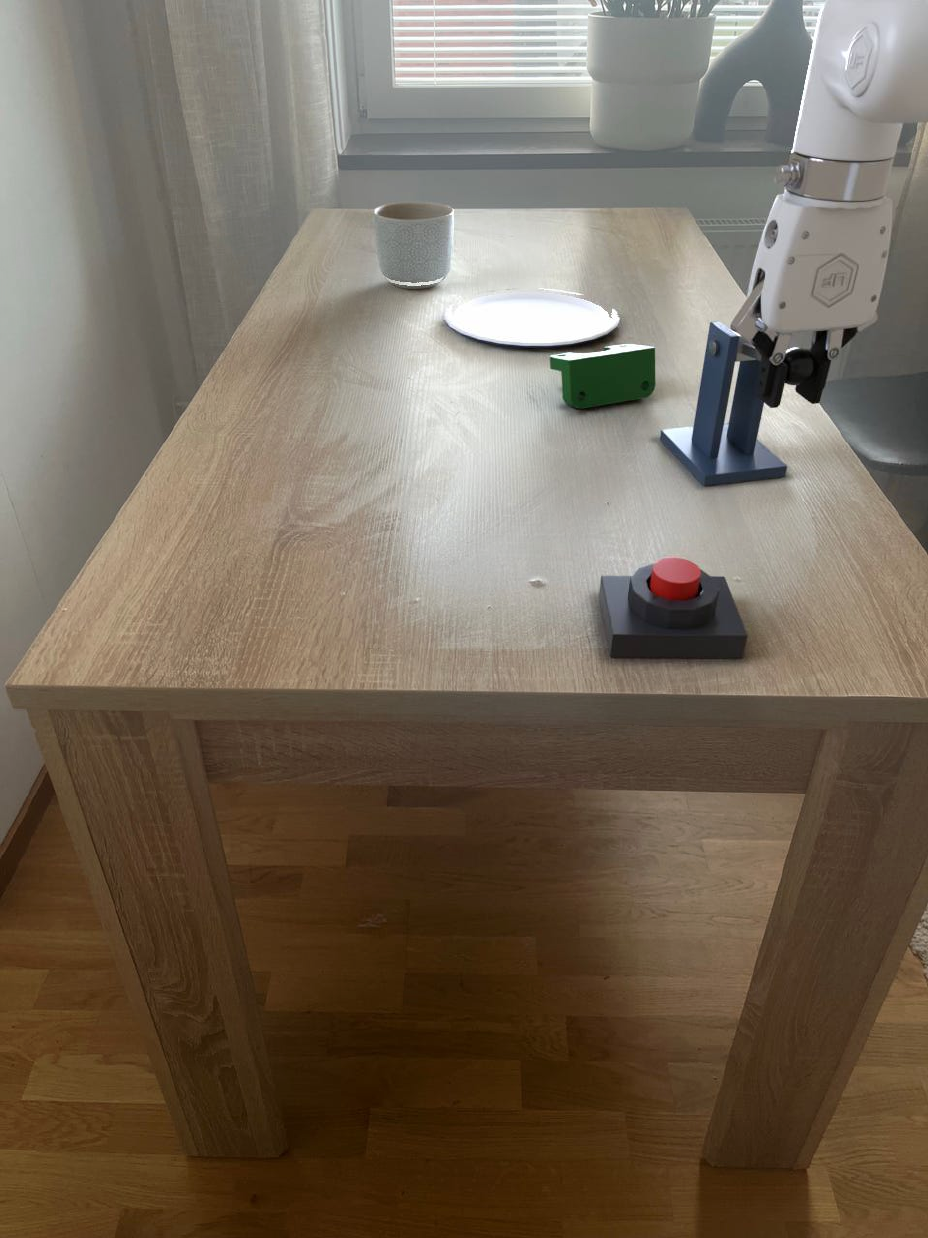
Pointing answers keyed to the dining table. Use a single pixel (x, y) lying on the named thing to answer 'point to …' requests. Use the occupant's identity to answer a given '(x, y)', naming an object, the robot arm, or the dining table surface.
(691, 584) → the button
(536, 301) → the plate
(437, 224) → the planter
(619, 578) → the button box
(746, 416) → the bracket
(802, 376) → the lever
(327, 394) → the dining table surface
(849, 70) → the robot arm
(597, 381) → the green mounting block
